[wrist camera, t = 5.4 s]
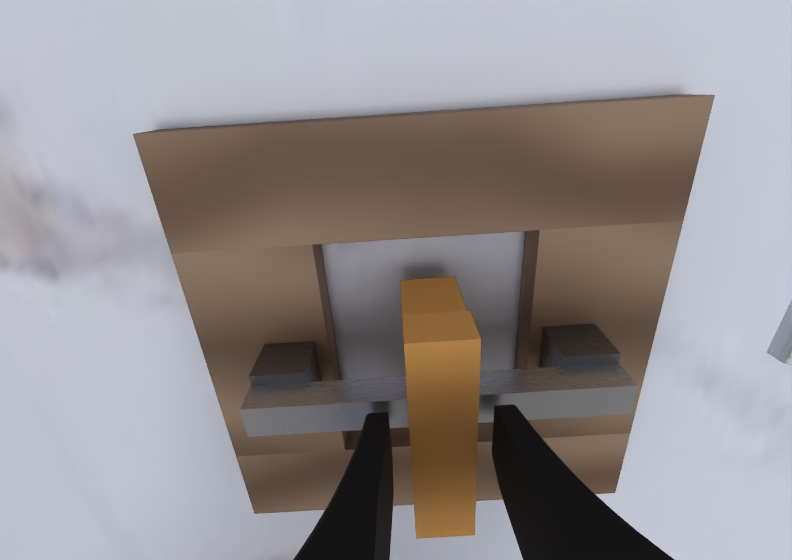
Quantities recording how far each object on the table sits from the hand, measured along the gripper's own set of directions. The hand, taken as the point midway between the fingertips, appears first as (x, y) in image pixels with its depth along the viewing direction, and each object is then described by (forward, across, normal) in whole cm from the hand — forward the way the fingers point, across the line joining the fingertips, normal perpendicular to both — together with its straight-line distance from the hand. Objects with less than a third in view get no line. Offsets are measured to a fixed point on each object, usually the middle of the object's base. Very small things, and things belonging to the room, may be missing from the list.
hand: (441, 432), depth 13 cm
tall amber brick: (+4, 0, 0) cm, 4 cm away
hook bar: (+4, 0, 0) cm, 4 cm away
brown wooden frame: (+6, 0, 0) cm, 6 cm away
